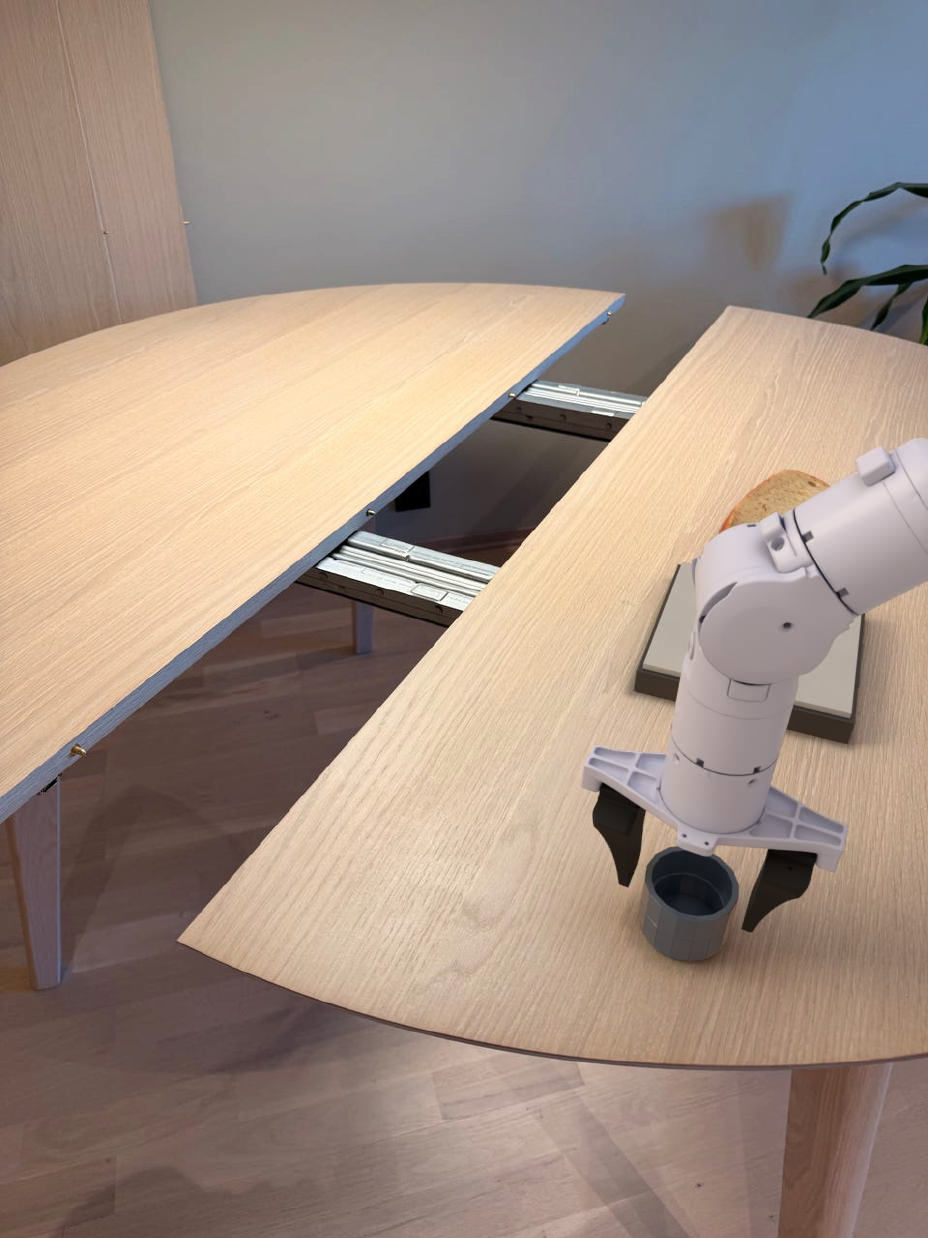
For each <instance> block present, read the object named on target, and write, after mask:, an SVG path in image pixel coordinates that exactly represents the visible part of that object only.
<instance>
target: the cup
mask: <svg viewBox="0 0 928 1238" xmlns="http://www.w3.org/2000/svg"><path fill="white" fill-rule="evenodd" d="M739 895H740V884H739V882H738V879H737V877H736V875H735V872H734V870H733V869H732V868H731V867H730V865H729V864H728V863H726V862H725V861H724V860H723V858H722V857H720V856H718V855H717V854H714V853H713V854H712V855H711V856H702V855H699V854H696V853H693V852H690V851H687V850H684V849H682V848H680V847H678V846H677V845H675V846H669V847H667V848H665V849H662V850H661V851H659V852H656V853H655V854H654V855H653V857H652V858H651V859H650V860H649V861H648V863H647V864H646V868H645V873H644V878H643V884H642V889H641V893H640V900H639V906H638V912H637V921H638V924H639V927H640V929H641V930H640V931H641V933H642V935H643V936H644V937H645V938H646V940H647V941H648V942H649V944H650V945H651V946H652V947H653V948H654V949H655V950H656V951H657V952H659V953H660V954H662V955H664V956H665V957H667V958H670V959H672V960H675V961H681V962H686V963H687V962H688V963H689V962H698V961H702V960H707V959H709V958H711V957H712V956H713V955H715V954H717V953H719V952H720V951H721V949H722V948H723V946H724V945H725V943H726V942H727V940H728V938H729V934H730V931H731V926H732V923H733V919H734V916H735V913H736V909H737V905H738V902H739Z"/></svg>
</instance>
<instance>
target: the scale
mask: <svg viewBox="0 0 928 1238" xmlns="http://www.w3.org/2000/svg"><path fill="white" fill-rule="evenodd" d="M691 564H692V562H686V561H682V562H681V564H680V563H678V564H677V566H676V568H675V570H674V573H673V576H672V578H671V581H670V584H669V586H668V588H667V591H666V594H665V596H664V600H663V601H662V604H661V607H660V609H659V611H658V615H657V617H656V619H655V622H654V625H653V627H652V630H651V633H650V635H649V638H648V640H647V643H646V644H645V648H644V651H643V653H642V656H641V658H640V660H639V663H638V666H637V668H636V672H635V679H634V686H633V691H635V692H638V693H642V694H646V695H649V696H654V697H658V698H662V699H666V700H671V701H674V702H676V698H677V693H678V688H679V683H680V677H681V672H682V666H683V661H684V658H685V656H686V654H687V652H688V643H689V638H690V636H691V633H692V632H693V628H694V622H695V617H696V613H697V610H696V590H695V587H694V584H693V579H692V571H691ZM865 621H866V613H864V614H862V615H860V616H858V617H856V618H854V621H853V622H852V623H851V624H849V627H850V629H849V630H847V631H845V632H843V633H841V634H840V635H838V636H837V637H836V639H835V640H834V642H833V644H832V646H831V649H830V651H829V653H828V654H827V656H826V657H825V659H824V660H823V661H822V662H821V663H820V664H819V665H818V666H817V667H816V668H815V669H814V670H813V671H811V672H810V673H808V674H804V675H800V677H799V680H798V691H797V694H796V697H795V701H794V704H793V708H792V711H791V715H790V718H789V722H788V725H787V729H786V730H791V731H793V732H794V731H795V732H799V733H802V734H807V735H811V736H815V737H819V738H822V739H825V740H831V741H835V742H839V743H843V744H847V745H848V744H849V742H850V740H851V736H852V734H853V730H854V727H855V725H856V716H857V715H856V714H857V707H858V695H859V688H860V684H861V674H862V673H861V672H862V661H863V651H864V632H865Z"/></svg>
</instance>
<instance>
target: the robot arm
mask: <svg viewBox="0 0 928 1238" xmlns="http://www.w3.org/2000/svg"><path fill="white" fill-rule="evenodd" d="M854 462H855V463H854V464H855V465H856V468H857V470H856V471H855V472H852V473H851V474H849V475H847V476H845V477H844V478H842V479H840V480H839V481H837V482H835V483H834V484H832V485H829V486H830V487H829V488H827V489H825V490H824V491H822V492H820V493H818V494H817V495H815V496H813V497H812V498H810V499H808V500H806V501H805V502H803V503H801V504H800V505H798V506H796V507H795V508H793V509H791V510H789V511H788V512H786V513H785V514H782V515H780V514H779V513H778V512H775V513H773V514H771V515H769V516H768V517H766V518H764V519H763V520H761V521H760V522H756V523H744V524H740V525H737V526H734V527H731V528H729V529H727V530H724V531H722V532H721V533H719V532H718V533H719V534H718V533H717V534H716V535H715V536H713V537H712V539H710V540H709V541H708V542H707V543H706V544H705V545H704V546H703V548H702V554H701V555H698V556H694V557H693V558H692V559H691V563H692V564H691V571H692V579H693V584H694V587H695V590H696V610H697V613H696V617H695V622H694V628H693V632H692V633H691V636H690V638H689V643H688V652H687V654H686V656H685V658H684V661H683V666H682V672H681V677H680V683H679V688H678V693H677V698H676V701H675V704H674V710H673V715H672V720H671V726H670V732H669V738H668V740H667V741H668V743H667V748H666V752H656V751H641V750H626V749H618V748H612V747H607V746H603V745H600V744H597V743H595V744H593V746H592V748H591V750H590V752H589V754H588V756H587V758H586V760H585V762H584V764H583V768H582V778H581V788H582V789H583V790H584V789H585V790H587V791H591V792H594V793H598V795H597V801H596V802H595V804H594V806H593V809H592V812H591V818H592V826H593V827H594V828H595V829H596V831H598V833H599V834H600V835H601V836H602V838H603V839H604V841H605V843H606V844H607V847H608V849H609V852H610V853H611V857H612V860H613V863H614V866H615V870H616V875H617V876H616V877H617V883H618V885H620V886H622V887H626V888H627V889H628V888H630V885H631V882H632V880H633V877H634V875H635V872H636V870H637V868H638V865H639V861H640V857H641V852H642V843H643V834H644V823H645V819H646V814H647V812H648V813H649V814H651V815H652V816H654V817H655V818H657V819H658V820H659V821H661V822H663V823H664V824H666V825H667V826H669V827H670V828H672V830H675V832H676V833H675V834H676V835H675V844H676V846H678V847H680V848H682V849H684V850H687V851H690V852H693V853H696V854H699V855H702V856H711V855H712V854H714V853H715V850H716V849H717V847H718V846H722V847H723V846H726V847H736V848H737V847H740V848H749V849H750V848H752V849H765V850H766V854H765V857H764V860H763V864H762V866H761V868H760V870H759V873H758V874H757V877H756V880H755V882H754V884H753V886H752V889H751V892H750V895H749V899H748V902H747V906H746V910H745V913H744V917H743V920H742V923H741V928H740V931H741V930H742V931H744V932H747V933H750V934H752V933H754V932H755V930H756V928H757V926H758V925H759V924H760V923H761V922H762V921H763V919H764V918H765V917H766V916H767V915H769V914H770V913H771V912H772V911H774V910H776V908H777V907H779V906H781V905H783V904H784V903H787V902H789V901H793V900H796V899H800V898H801V897H802V896H803V895H804V894H805V893H806V892H807V890H808V889H809V887H810V884H811V881H812V876H813V872H814V867H815V866H816V867H817V868H819V869H821V870H825V871H827V872H831V873H833V874H834V873H836V872H837V869H838V866H839V864H840V861H841V859H842V856H843V853H844V851H845V845H846V840H847V835H848V830H849V824H846V823H843V822H841V821H839V820H835V819H833V818H830V817H829V816H827V815H824V814H822V813H820V812H818V811H817V810H815V809H812V808H811V807H809V806H807V805H806V804H805V803H803V802H801V801H800V800H797V799H796V798H795V797H792V796H791V795H790V794H787V793H786V792H784V791H782V790H781V789H779V788H777V787H776V786H774V785H772V781H773V777H774V773H775V771H776V767H777V764H778V760H779V756H780V753H781V749H782V746H783V742H784V738H785V735H786V732H787V730H788V729H787V725H788V722H789V718H790V715H791V711H792V708H793V704H794V701H795V697H796V694H797V691H798V680H799V677H800V675H804V674H808V673H810V672H811V671H813V670H814V669H815V668H816V667H817V666H818V665H819V664H820V663H821V662H822V661H823V660H824V659H825V657H826V656H827V654H828V653H829V651H830V649H831V646H832V644H833V642H834V640H835V639H836V637H837V636H838V635H840V634H841V633H843V632H845V631H847V630H849V629H850V627H849V624H851V623H852V622H853V621H854V618H856V617H858V616H860V615H862V614H864V613H865V614H866V613H867V612H869V611H872V610H873V609H876V608H877V607H880V606H881V605H883V604H885V603H887V602H889V601H891V600H894V599H895V598H898V597H899V596H902V595H903V594H905V593H908V592H910V591H911V590H913V589H915V588H917V587H920V586H921V585H923V584H925V583H927V582H928V438H927V437H913V438H910V439H909V440H907V441H905V442H904V443H903V444H901V445H899V446H898V447H896V448H894V449H891V450H890V451H887V449H886V447H884V446H883V445H878V446H876V447H874V448H873V449H871V450H869V451H867V452H865V453H864V454H862V455H860V456H859V457H857V458H856V459H855V461H854Z"/></svg>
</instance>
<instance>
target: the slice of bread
mask: <svg viewBox="0 0 928 1238" xmlns="http://www.w3.org/2000/svg"><path fill="white" fill-rule="evenodd" d="M830 486H831V485H829V484H828V483H827V482H825V481H824V480H822V479H820V478H819V477H816V476H814V475H811V474H809V473H806V472H804V471H801V470H794V469H783V470H781V471H779V472H777V473H775V474H774V473H773V474H772V475H770V476H769V477H768V478H767V479H765V480H763V481H762V482H761V483H759V484H758V485H757V486H756V487H755V488H753V489H752V490H750V492H748V493H747V494H746V495H745V496H744V497H743V498H742V499H741V500H740V501H739V502H738V503H737V504H736V505H735V506H734V507H733V508H732V509H731V511H730V512H729V514H728V516H726V518H725V519H724V521H723V523H722V524H721V526H720V529H719V531H718V533H717V535H718V534H719V533H721V532H722V531H724V530H727V529H729V528H731V527H734V526H737V525H740V524H744V523H756V522H760V521H761V520H763V519H764V518H766V517H768V516H769V515H771V514H773V513H775V512H778V513H779V514H780V515H782V514H785V513H786V512H788V511H789V510H791V509H793V508H795V507H796V506H798V505H800V504H801V503H803V502H805V501H806V500H808V499H810V498H812V497H813V496H815V495H817V494H818V493H820V492H822V491H824V490H825V489H827V488H829V487H830Z"/></svg>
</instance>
